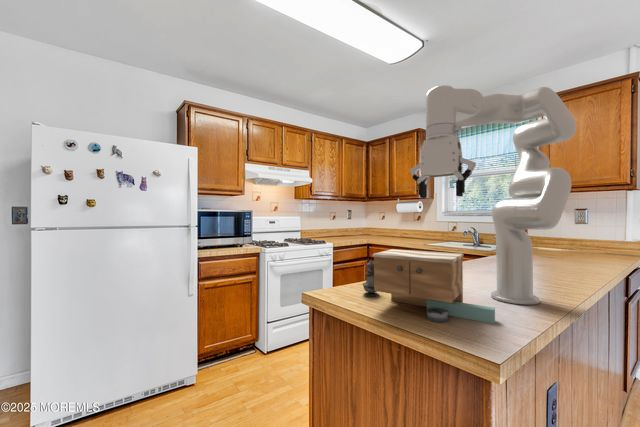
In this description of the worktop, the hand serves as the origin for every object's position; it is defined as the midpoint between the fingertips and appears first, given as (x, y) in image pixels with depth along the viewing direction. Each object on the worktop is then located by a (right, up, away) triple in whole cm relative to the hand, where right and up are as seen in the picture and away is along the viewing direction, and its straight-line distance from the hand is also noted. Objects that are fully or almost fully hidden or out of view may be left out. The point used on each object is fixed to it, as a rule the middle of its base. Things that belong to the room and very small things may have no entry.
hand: (440, 197), depth 79 cm
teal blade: (+4, -32, -2) cm, 32 cm away
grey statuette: (-15, -32, +18) cm, 40 cm away
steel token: (-3, -32, -5) cm, 32 cm away
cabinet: (-5, -31, +2) cm, 32 cm away
